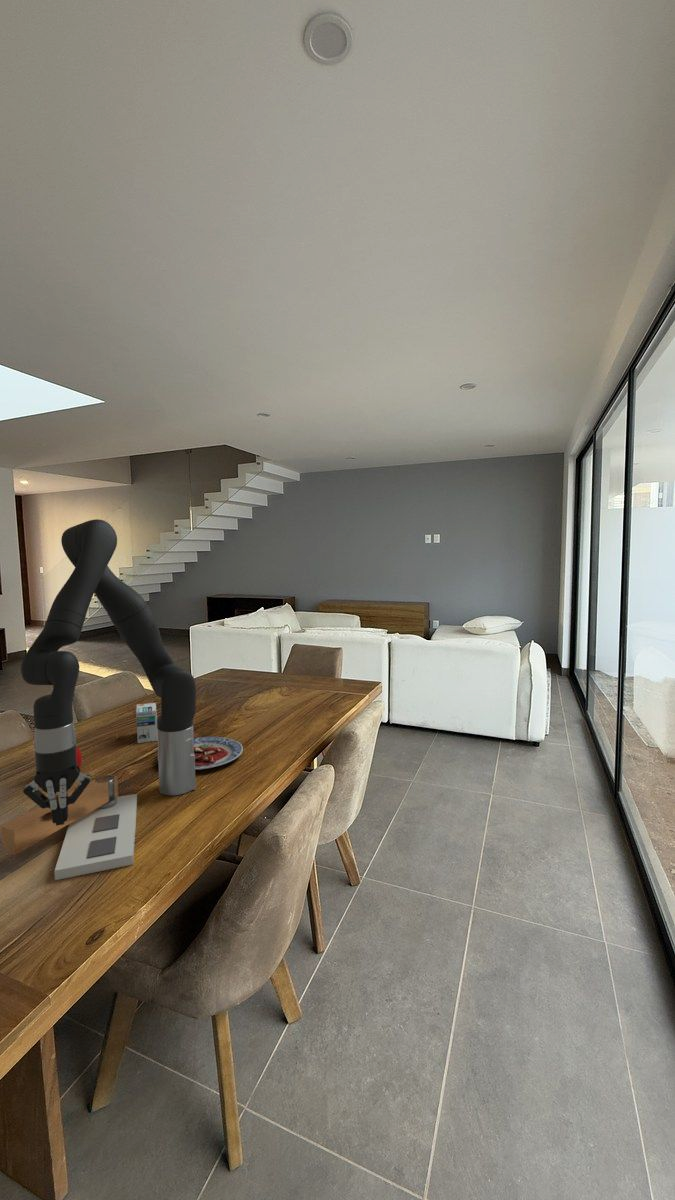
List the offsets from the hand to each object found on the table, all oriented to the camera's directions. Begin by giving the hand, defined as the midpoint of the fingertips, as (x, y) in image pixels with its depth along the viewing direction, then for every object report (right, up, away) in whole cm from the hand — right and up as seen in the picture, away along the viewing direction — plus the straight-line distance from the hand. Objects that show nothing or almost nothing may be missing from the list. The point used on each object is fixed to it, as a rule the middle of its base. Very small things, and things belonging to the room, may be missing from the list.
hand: (60, 823), depth 105 cm
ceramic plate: (+16, -2, +49) cm, 52 cm away
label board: (+6, -6, +6) cm, 10 cm away
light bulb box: (-7, -1, +67) cm, 67 cm away
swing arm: (-2, -2, +6) cm, 7 cm away
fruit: (-20, -3, +37) cm, 42 cm away
